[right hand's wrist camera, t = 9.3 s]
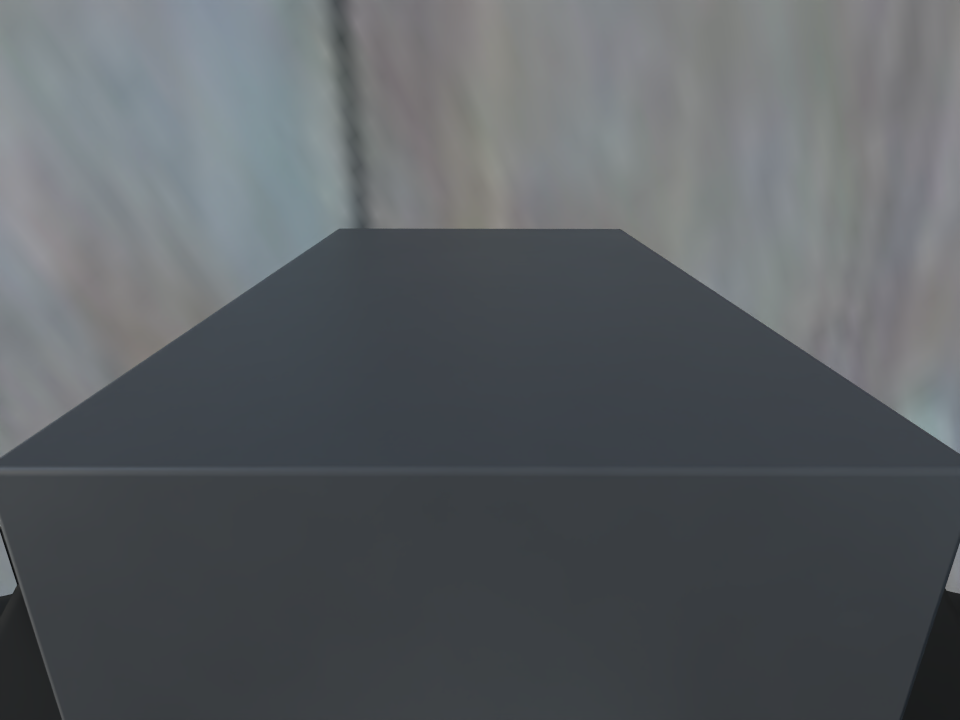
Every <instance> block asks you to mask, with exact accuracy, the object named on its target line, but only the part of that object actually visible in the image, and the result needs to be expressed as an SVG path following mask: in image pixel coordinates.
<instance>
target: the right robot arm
mask: <svg viewBox="0 0 960 720" xmlns="http://www.w3.org/2000/svg"><path fill="white" fill-rule="evenodd" d="M0 533H1V536H2V539H3V542H4V545H5V548H6V552H7V555H8V558H9V561H10V564H11V567H12V570H13V573H14V576H15V579H16V582H17V587H16V588H15V590H14V592H13V594H10V595H6V596H1V597H0V720H62V718H61V715H60V712H59V708H58V705H57V702H56V699H55V696H54V693H53V689H52V686H51V683H50V680H49V677H48V674H47V671H46V667H45V664H44V661H43V658H42V655H41V652H40V648H39V645H38V642H37V639H36V636H35V633H34V630H33V626H32V623H31V620H30V617H29V614H28V611H27V607H26V604H25V601H24V598H23V595H22V592H21V589H20V585H19V582H18V579H17V576H16V573H15V570H14V566H13V563H12V560H11V557H10V554H9V551H8V548H7V544H6V541H5V538H4V535H3V532H2V529H1V526H0ZM902 720H960V594H958V593H953V592H950V591H946V589H944V592H943V595H942V598H941V602H940V605H939V608H938V611H937V614H936V617H935V620H934V623H933V626H932V629H931V632H930V635H929V638H928V641H927V645H926V648H925V651H924V654H923V657H922V660H921V663H920V666H919V669H918V672H917V675H916V678H915V681H914V684H913V687H912V691H911V694H910V697H909V700H908V703H907V706H906V709H905V712H904V715H903V718H902Z"/></svg>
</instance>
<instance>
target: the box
mask: <svg viewBox="0 0 960 720" xmlns="http://www.w3.org/2000/svg"><path fill="white" fill-rule="evenodd" d="M0 525H1V529H2V532H3V535H4V538H5V541H6V544H7V548H8V551H9V554H10V557H11V560H12V563H13V566H14V570H15V573H16V576H17V579H18V582H19V585H20V589H21V592H22V595H23V598H24V601H25V604H26V607H27V611H28V614H29V617H30V620H31V623H32V626H33V630H34V633H35V636H36V639H37V642H38V645H39V648H40V652H41V655H42V658H43V661H44V664H45V667H46V671H47V674H48V677H49V680H50V683H51V686H52V689H53V693H54V696H55V699H56V702H57V705H58V708H59V712H60V715H61V718H62V720H902V718H903V715H904V712H905V709H906V706H907V703H908V700H909V697H910V694H911V691H912V687H913V684H914V681H915V678H916V675H917V672H918V669H919V666H920V663H921V660H922V657H923V654H924V651H925V648H926V645H927V641H928V638H929V635H930V632H931V629H932V626H933V623H934V620H935V617H936V614H937V611H938V608H939V605H940V602H941V598H942V595H943V592H944V589H945V586H946V583H947V580H948V577H949V574H950V571H951V568H952V565H953V562H954V559H955V555H956V552H957V549H958V546H959V543H960V454H959V453H957V452H956V451H954V450H953V449H951V448H950V447H948V446H947V445H945V444H944V443H942V442H941V441H939V440H938V439H936V438H935V437H933V436H932V435H930V434H929V433H927V432H926V431H924V430H923V429H921V428H920V427H918V426H916V425H915V424H913V423H912V422H910V421H909V420H907V419H906V418H904V417H903V416H901V415H900V414H898V413H897V412H895V411H894V410H892V409H891V408H889V407H888V406H886V405H885V404H883V403H882V402H880V401H879V400H877V399H876V398H874V397H873V396H871V395H870V394H868V393H867V392H865V391H864V390H862V389H861V388H859V387H858V386H856V385H855V384H853V383H852V382H850V381H849V380H847V379H846V378H844V377H843V376H841V375H840V374H838V373H837V372H835V371H834V370H832V369H831V368H829V367H828V366H826V365H824V364H823V363H821V362H820V361H818V360H817V359H815V358H814V357H812V356H811V355H809V354H808V353H806V352H805V351H803V350H802V349H800V348H799V347H797V346H796V345H794V344H793V343H791V342H790V341H788V340H787V339H785V338H784V337H782V336H781V335H779V334H778V333H776V332H775V331H773V330H772V329H770V328H769V327H767V326H766V325H764V324H763V323H761V322H760V321H758V320H757V319H755V318H754V317H752V316H751V315H749V314H748V313H746V312H745V311H743V310H742V309H740V308H739V307H737V306H735V305H734V304H732V303H731V302H729V301H728V300H726V299H725V298H723V297H722V296H720V295H719V294H717V293H716V292H714V291H713V290H711V289H710V288H708V287H707V286H705V285H704V284H702V283H701V282H699V281H698V280H696V279H695V278H693V277H692V276H690V275H689V274H687V273H686V272H684V271H683V270H681V269H680V268H678V267H677V266H675V265H674V264H672V263H671V262H669V261H668V260H666V259H665V258H663V257H662V256H660V255H659V254H657V253H656V252H654V251H653V250H651V249H650V248H648V247H646V246H645V245H643V244H642V243H640V242H639V241H637V240H636V239H634V238H633V237H631V236H630V235H628V234H627V233H625V232H624V231H622V230H620V229H338V230H337V231H335V232H334V233H332V234H331V235H329V236H328V237H326V238H325V239H323V240H322V241H320V242H319V243H317V244H316V245H314V246H313V247H311V248H310V249H308V250H307V251H305V252H304V253H303V254H301V255H300V256H298V257H297V258H295V259H294V260H292V261H291V262H289V263H288V264H286V265H285V266H283V267H282V268H280V269H279V270H277V271H276V272H274V273H273V274H271V275H270V276H268V277H267V278H266V279H264V280H263V281H261V282H260V283H258V284H257V285H255V286H254V287H252V288H251V289H249V290H248V291H246V292H245V293H243V294H242V295H240V296H239V297H237V298H236V299H234V300H233V301H231V302H230V303H229V304H227V305H226V306H224V307H223V308H221V309H220V310H218V311H217V312H215V313H214V314H212V315H211V316H209V317H208V318H206V319H205V320H203V321H202V322H200V323H199V324H197V325H196V326H194V327H193V328H192V329H190V330H189V331H187V332H186V333H184V334H183V335H181V336H180V337H178V338H177V339H175V340H174V341H172V342H171V343H169V344H168V345H166V346H165V347H163V348H162V349H160V350H159V351H157V352H156V353H155V354H153V355H152V356H150V357H149V358H147V359H146V360H144V361H143V362H141V363H140V364H138V365H137V366H135V367H134V368H132V369H131V370H129V371H128V372H126V373H125V374H123V375H122V376H120V377H119V378H118V379H116V380H115V381H113V382H112V383H110V384H109V385H107V386H106V387H104V388H103V389H101V390H100V391H98V392H97V393H95V394H94V395H92V396H91V397H89V398H88V399H86V400H85V401H83V402H82V403H81V404H79V405H78V406H76V407H75V408H73V409H72V410H70V411H69V412H67V413H66V414H64V415H63V416H61V417H60V418H58V419H57V420H55V421H54V422H52V423H51V424H49V425H48V426H46V427H45V428H44V429H42V430H41V431H39V432H38V433H36V434H35V435H33V436H32V437H30V438H29V439H27V440H26V441H24V442H23V443H21V444H20V445H18V446H17V447H15V448H14V449H12V450H11V451H9V452H8V453H7V454H5V455H4V456H2V457H1V458H0Z"/></svg>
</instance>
